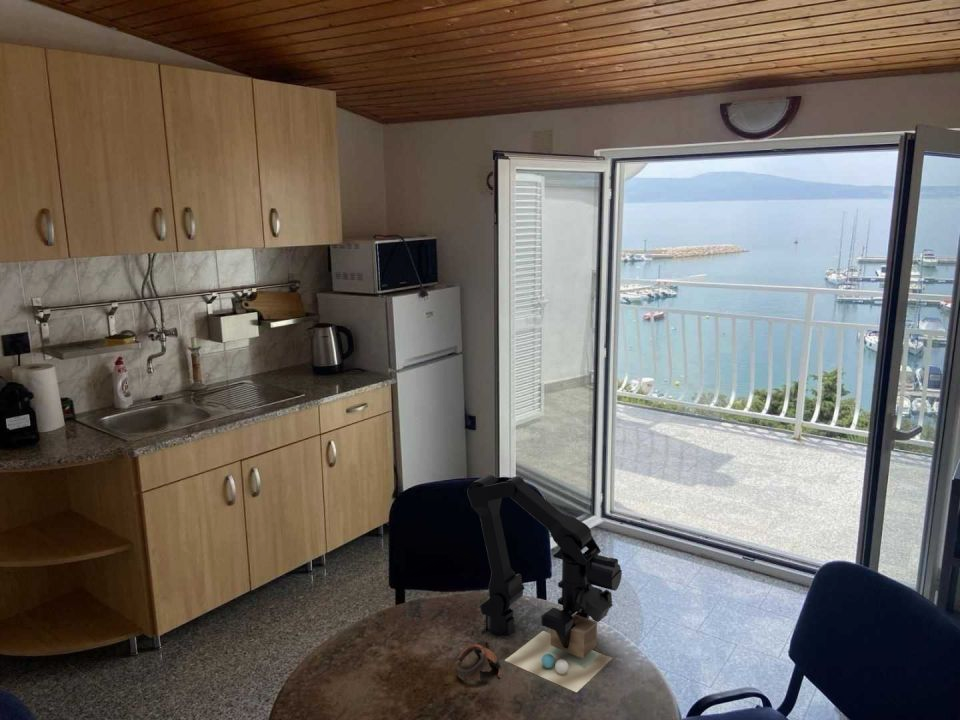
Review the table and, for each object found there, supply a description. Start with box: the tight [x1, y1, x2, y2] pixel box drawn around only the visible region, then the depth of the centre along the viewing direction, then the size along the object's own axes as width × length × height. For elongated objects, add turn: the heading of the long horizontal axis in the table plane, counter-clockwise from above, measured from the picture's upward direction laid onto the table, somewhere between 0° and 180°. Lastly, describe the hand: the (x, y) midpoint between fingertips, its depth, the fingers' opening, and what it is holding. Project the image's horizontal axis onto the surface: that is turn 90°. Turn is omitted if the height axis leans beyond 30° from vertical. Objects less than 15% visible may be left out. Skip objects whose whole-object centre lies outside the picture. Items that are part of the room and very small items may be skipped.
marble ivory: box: [555, 659, 569, 674], centre depth 156 cm, size 3×3×3 cm
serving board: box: [504, 630, 613, 693], centre depth 162 cm, size 19×16×1 cm
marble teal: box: [541, 654, 555, 668], centre depth 158 cm, size 3×3×3 cm
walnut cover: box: [550, 614, 598, 658], centre depth 163 cm, size 9×6×7 cm
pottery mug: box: [455, 638, 503, 682], centre depth 157 cm, size 12×10×8 cm
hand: (573, 641), depth 163 cm, fingers closed on walnut cover, 6 cm apart
